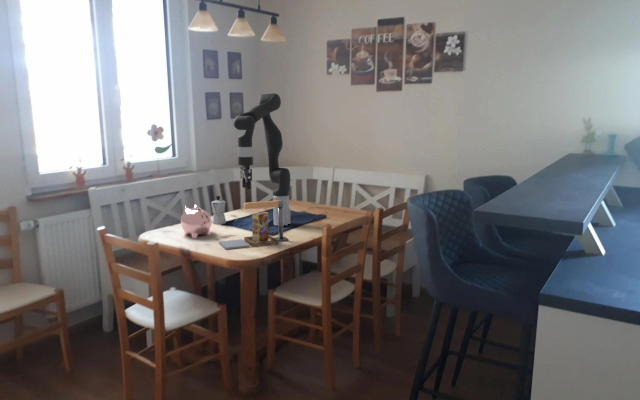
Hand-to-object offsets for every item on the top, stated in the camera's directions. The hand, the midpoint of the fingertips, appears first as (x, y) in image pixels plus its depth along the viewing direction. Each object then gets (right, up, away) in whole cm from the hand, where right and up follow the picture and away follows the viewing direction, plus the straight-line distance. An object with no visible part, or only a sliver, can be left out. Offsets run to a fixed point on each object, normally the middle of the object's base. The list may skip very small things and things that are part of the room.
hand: (246, 188), depth 258 cm
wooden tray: (+7, -28, +1) cm, 29 cm away
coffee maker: (-22, -21, +45) cm, 54 cm away
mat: (-6, -29, -4) cm, 30 cm away
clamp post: (+17, -27, +6) cm, 33 cm away
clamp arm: (+9, -10, -1) cm, 13 cm away
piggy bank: (-30, -26, +19) cm, 44 cm away
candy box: (+7, -28, +1) cm, 29 cm away
